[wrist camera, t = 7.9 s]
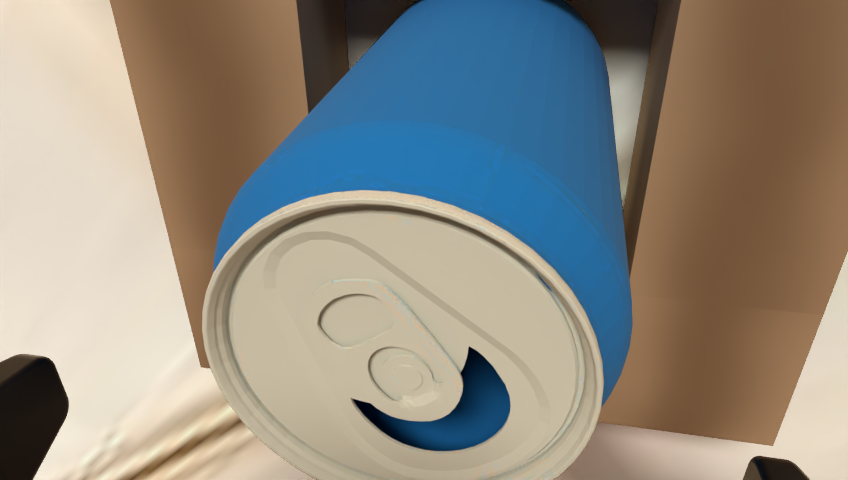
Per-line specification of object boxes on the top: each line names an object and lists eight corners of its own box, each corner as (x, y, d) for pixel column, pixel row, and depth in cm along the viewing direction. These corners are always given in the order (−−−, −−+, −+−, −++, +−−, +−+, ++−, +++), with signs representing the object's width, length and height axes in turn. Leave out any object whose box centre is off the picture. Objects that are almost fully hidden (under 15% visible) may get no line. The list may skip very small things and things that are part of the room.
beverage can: (464, 223, 22) (364, 565, 12) (338, 58, 20) (85, 303, 10) (651, 121, 19) (729, 461, 9) (526, -85, 17) (443, 52, 7)
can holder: (976, -339, 13) (1092, -388, 10) (747, 364, 22) (773, 445, 19) (129, -298, 16) (29, -326, 13) (244, 304, 25) (200, 367, 22)
